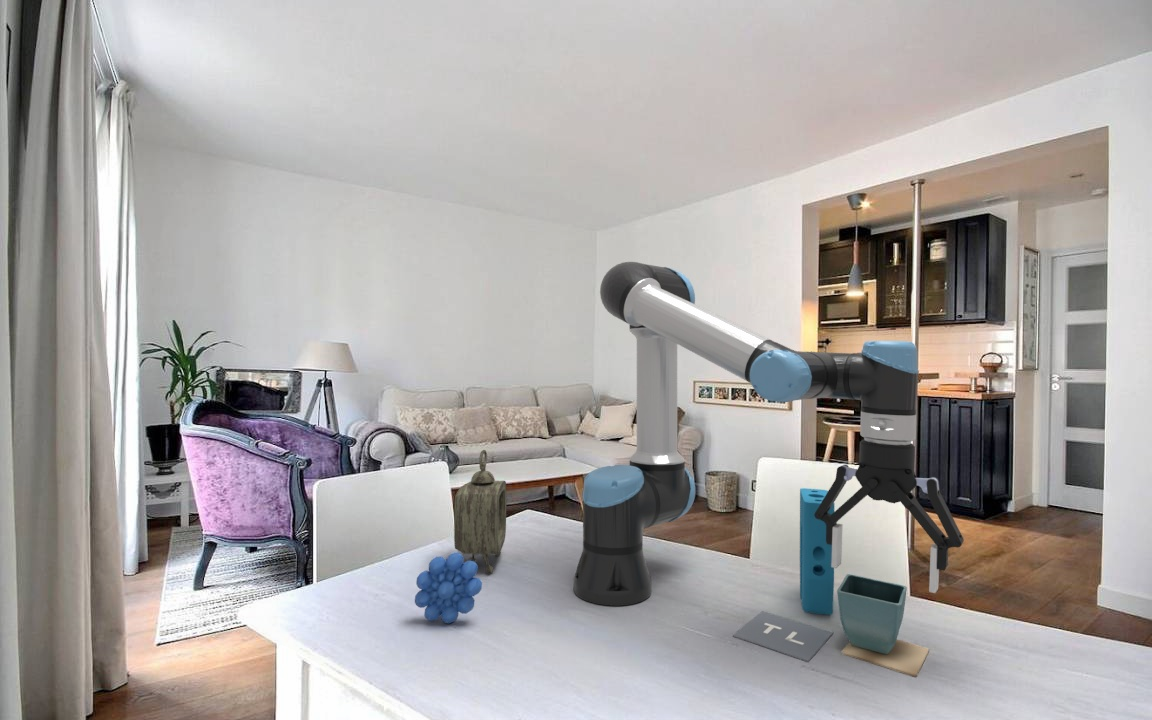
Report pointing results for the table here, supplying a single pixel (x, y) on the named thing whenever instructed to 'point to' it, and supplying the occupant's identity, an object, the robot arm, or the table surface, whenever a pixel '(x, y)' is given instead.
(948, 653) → the table surface
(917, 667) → the cork mat
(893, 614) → the flower pot
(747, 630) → the tile
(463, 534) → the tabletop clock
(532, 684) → the table surface
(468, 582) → the blue ball flower
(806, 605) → the block
